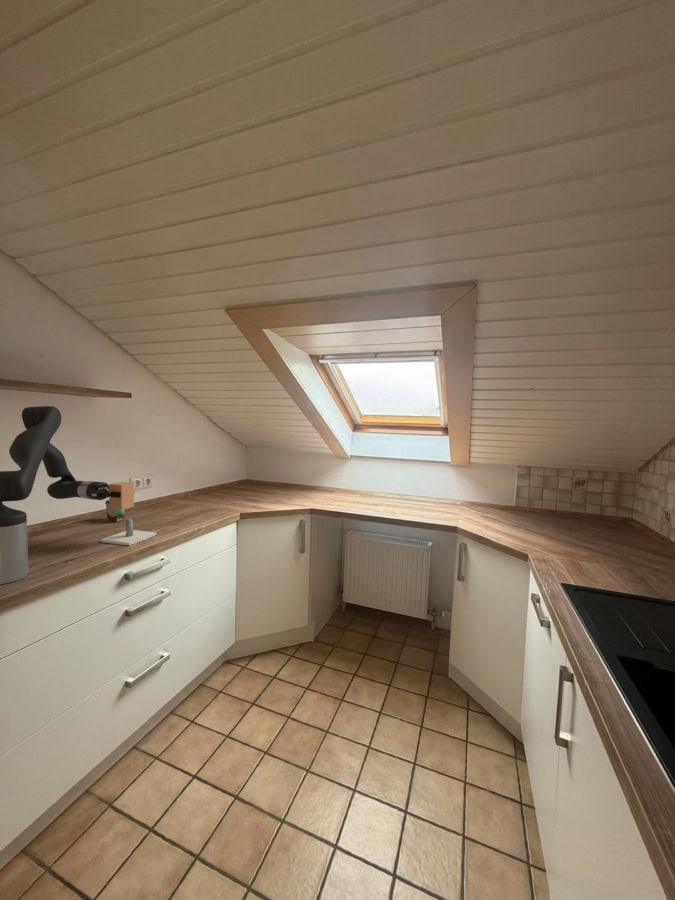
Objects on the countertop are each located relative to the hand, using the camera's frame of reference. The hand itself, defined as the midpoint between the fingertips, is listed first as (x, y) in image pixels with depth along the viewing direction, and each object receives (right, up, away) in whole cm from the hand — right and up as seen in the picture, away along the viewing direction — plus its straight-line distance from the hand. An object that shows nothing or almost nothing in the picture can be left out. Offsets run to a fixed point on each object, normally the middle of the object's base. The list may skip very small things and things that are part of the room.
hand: (126, 493), depth 139 cm
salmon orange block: (-3, -6, +1) cm, 6 cm away
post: (-2, -20, +5) cm, 20 cm away
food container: (-24, -18, +32) cm, 43 cm away
